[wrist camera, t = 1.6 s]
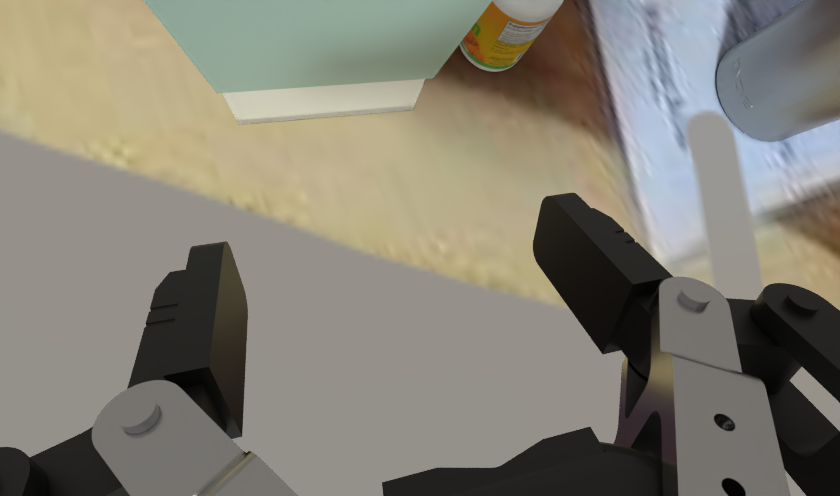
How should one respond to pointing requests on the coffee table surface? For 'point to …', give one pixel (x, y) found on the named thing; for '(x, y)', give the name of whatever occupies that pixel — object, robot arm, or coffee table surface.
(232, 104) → the storage box
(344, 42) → the lid
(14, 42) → the coffee table surface
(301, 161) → the coffee table surface
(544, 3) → the supplement bottle
